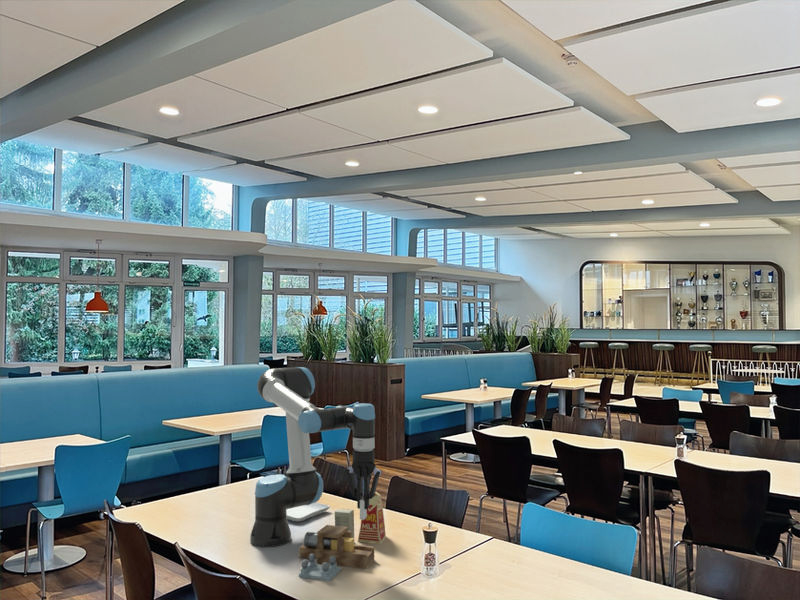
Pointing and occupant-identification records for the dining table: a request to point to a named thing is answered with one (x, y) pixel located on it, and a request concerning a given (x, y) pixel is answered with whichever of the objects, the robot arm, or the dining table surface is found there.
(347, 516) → the skincare box
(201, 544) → the dining table surface
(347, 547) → the yellow block
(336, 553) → the wooden fixture
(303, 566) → the cradle
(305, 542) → the silver metal cylinder
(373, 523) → the milk carton
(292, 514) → the salad plate
